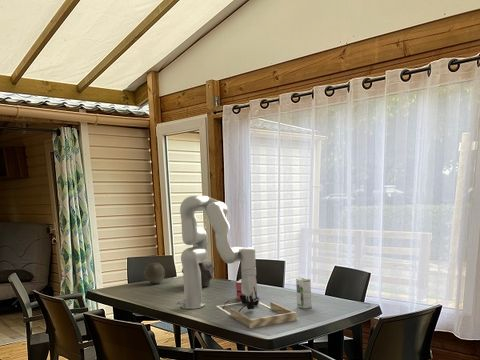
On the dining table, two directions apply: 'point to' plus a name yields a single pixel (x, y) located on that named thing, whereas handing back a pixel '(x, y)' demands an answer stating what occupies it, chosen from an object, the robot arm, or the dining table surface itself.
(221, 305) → the cream outline
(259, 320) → the shallow wooden tray
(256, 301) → the sunglasses
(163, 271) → the cantaloupe
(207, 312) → the dining table surface
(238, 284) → the puzzle cube
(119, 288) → the dining table surface
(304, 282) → the syrup box
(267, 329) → the dining table surface
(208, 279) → the vessel
